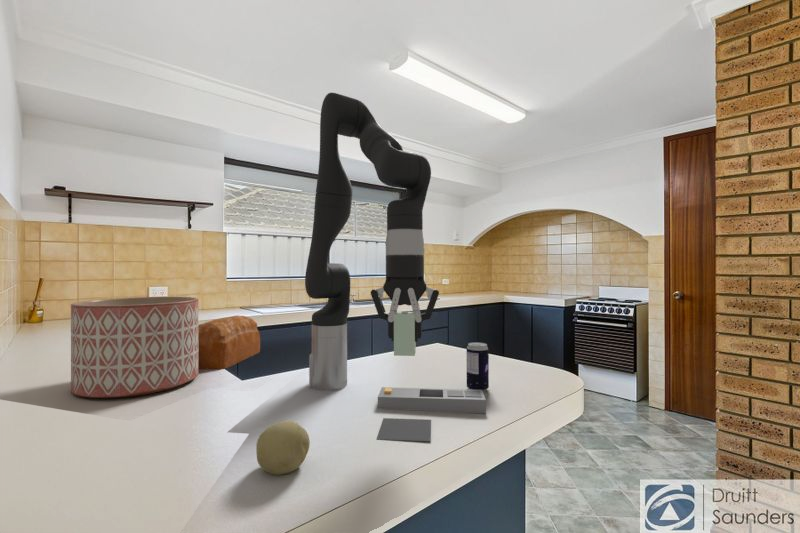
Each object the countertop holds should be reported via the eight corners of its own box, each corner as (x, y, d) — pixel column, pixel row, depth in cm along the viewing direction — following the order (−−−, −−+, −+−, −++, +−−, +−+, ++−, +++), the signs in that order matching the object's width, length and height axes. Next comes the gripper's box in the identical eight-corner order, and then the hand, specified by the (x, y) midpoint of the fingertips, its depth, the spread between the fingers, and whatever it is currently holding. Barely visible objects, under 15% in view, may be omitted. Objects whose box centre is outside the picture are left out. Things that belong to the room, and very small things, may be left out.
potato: (304, 484, 58) (304, 431, 58) (250, 487, 57) (250, 433, 57) (312, 459, 65) (312, 412, 65) (264, 461, 65) (263, 413, 65)
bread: (263, 356, 141) (263, 313, 141) (223, 376, 115) (223, 323, 115) (227, 355, 143) (227, 312, 143) (179, 375, 117) (179, 323, 117)
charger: (393, 355, 75) (393, 313, 75) (395, 351, 79) (395, 310, 79) (414, 355, 74) (414, 313, 74) (415, 351, 78) (415, 310, 78)
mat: (376, 441, 72) (376, 439, 72) (383, 420, 82) (383, 418, 82) (430, 443, 71) (430, 441, 71) (431, 421, 81) (431, 419, 81)
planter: (41, 404, 92) (41, 304, 92) (145, 373, 118) (145, 295, 119) (131, 415, 85) (131, 307, 85) (220, 380, 111) (220, 297, 111)
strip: (377, 410, 88) (377, 394, 88) (381, 399, 95) (381, 384, 95) (485, 413, 86) (485, 397, 86) (482, 402, 93) (482, 387, 93)
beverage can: (488, 394, 99) (488, 346, 99) (466, 392, 100) (466, 345, 100) (488, 387, 104) (488, 342, 104) (466, 385, 105) (466, 341, 105)
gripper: (365, 253, 74) (366, 344, 73) (441, 252, 72) (441, 345, 72) (372, 254, 81) (372, 337, 81) (440, 254, 80) (441, 337, 80)
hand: (405, 340), depth 77 cm, fingers closed on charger, 3 cm apart
